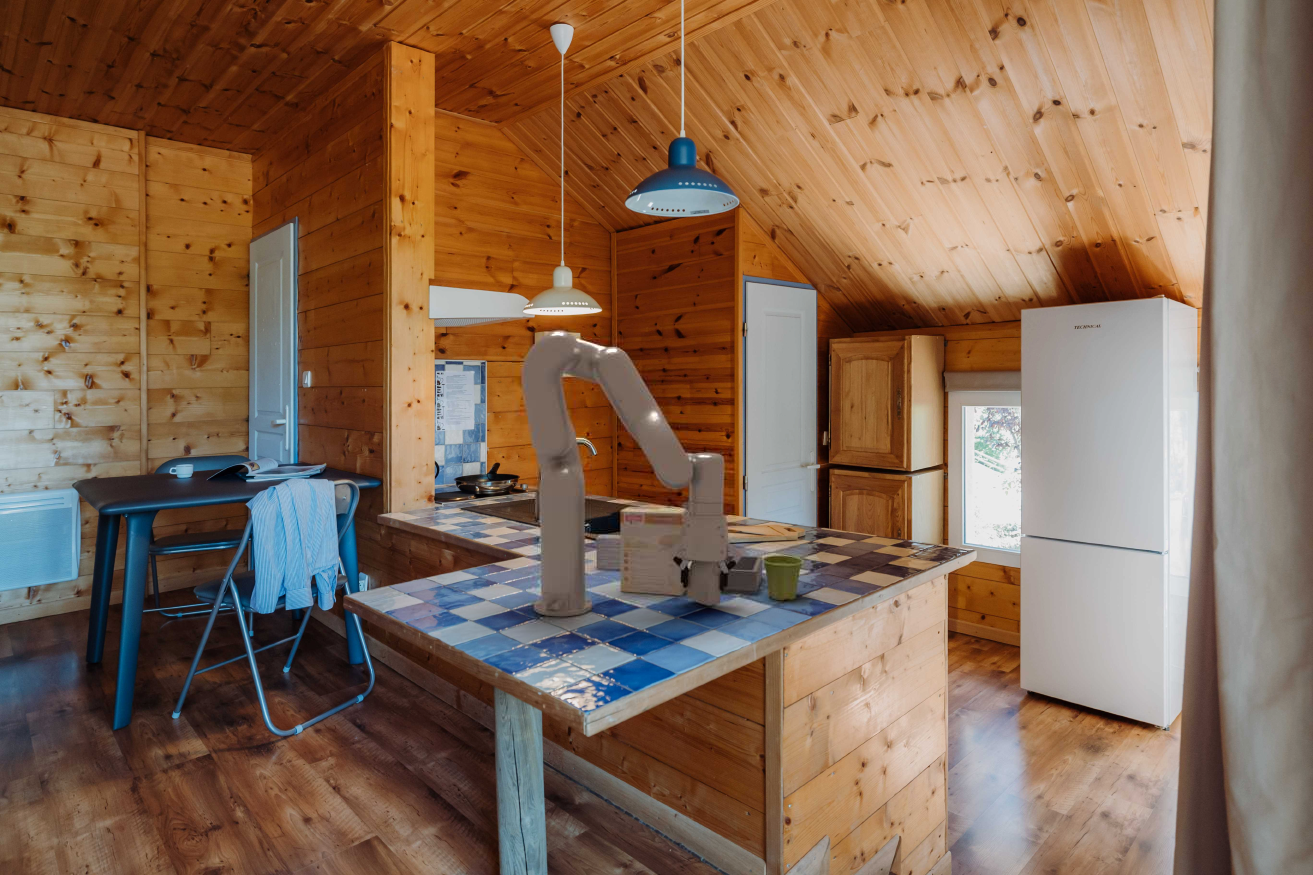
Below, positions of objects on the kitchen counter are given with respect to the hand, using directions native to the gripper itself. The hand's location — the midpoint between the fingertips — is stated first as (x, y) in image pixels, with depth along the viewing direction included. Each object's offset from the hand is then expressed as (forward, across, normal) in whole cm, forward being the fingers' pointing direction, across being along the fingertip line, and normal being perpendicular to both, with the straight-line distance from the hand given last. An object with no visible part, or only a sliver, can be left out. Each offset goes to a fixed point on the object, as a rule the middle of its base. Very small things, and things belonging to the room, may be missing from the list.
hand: (704, 587), depth 165 cm
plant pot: (+4, +17, +10) cm, 20 cm away
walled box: (+4, +4, +18) cm, 19 cm away
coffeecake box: (+4, -13, +9) cm, 17 cm away
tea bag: (+3, 0, 0) cm, 3 cm away
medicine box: (+5, -29, +28) cm, 41 cm away
